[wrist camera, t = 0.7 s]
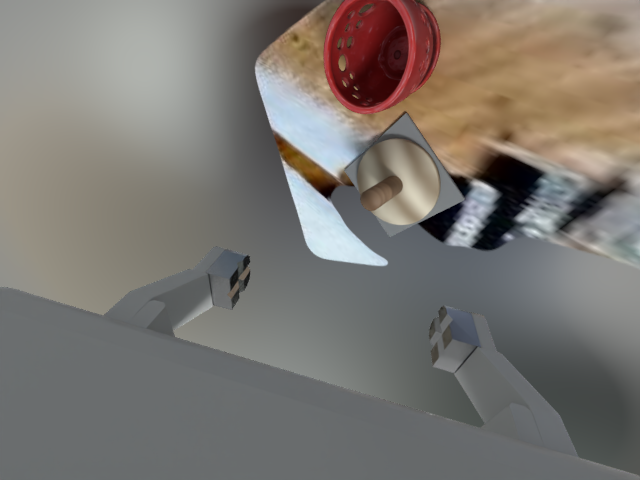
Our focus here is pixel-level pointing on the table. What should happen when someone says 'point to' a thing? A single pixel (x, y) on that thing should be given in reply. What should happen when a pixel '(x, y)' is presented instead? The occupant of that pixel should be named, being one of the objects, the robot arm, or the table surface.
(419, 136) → the grey mat
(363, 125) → the table surface
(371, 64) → the plant pot
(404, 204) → the birch lid
